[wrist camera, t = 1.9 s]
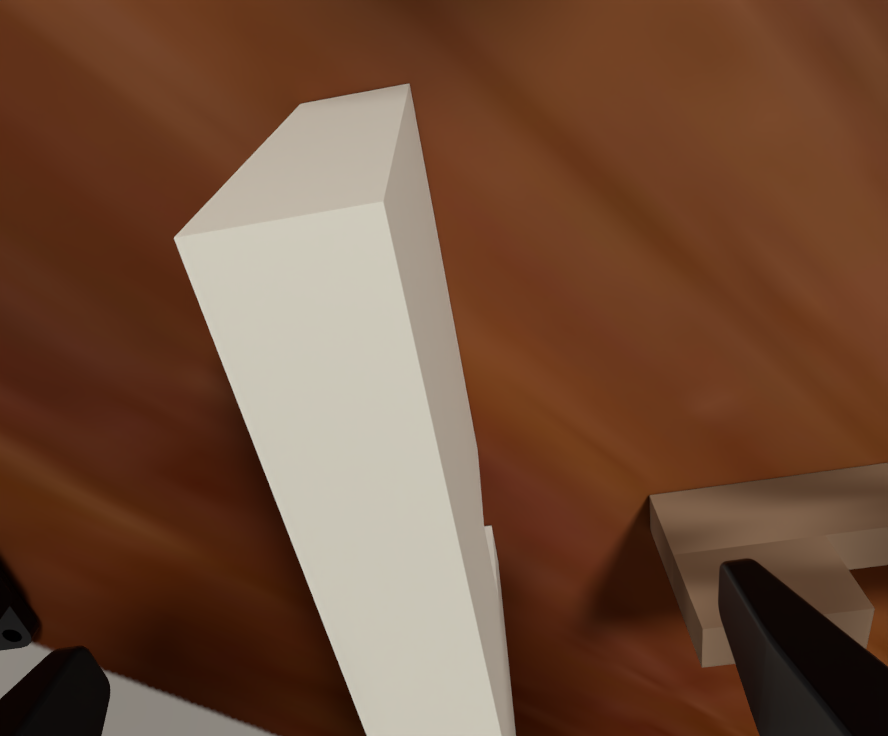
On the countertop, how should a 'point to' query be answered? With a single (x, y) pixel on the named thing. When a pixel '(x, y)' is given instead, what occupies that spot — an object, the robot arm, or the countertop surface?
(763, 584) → the robot arm
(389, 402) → the cream plate
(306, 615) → the countertop surface
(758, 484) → the brown wooden flat piece
